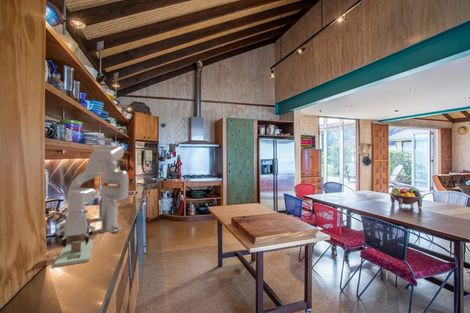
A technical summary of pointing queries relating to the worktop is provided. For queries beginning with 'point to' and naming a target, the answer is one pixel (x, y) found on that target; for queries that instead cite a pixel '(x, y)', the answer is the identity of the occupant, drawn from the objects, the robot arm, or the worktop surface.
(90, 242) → the lid
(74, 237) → the brown open box
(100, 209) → the coffee box
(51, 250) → the worktop surface
